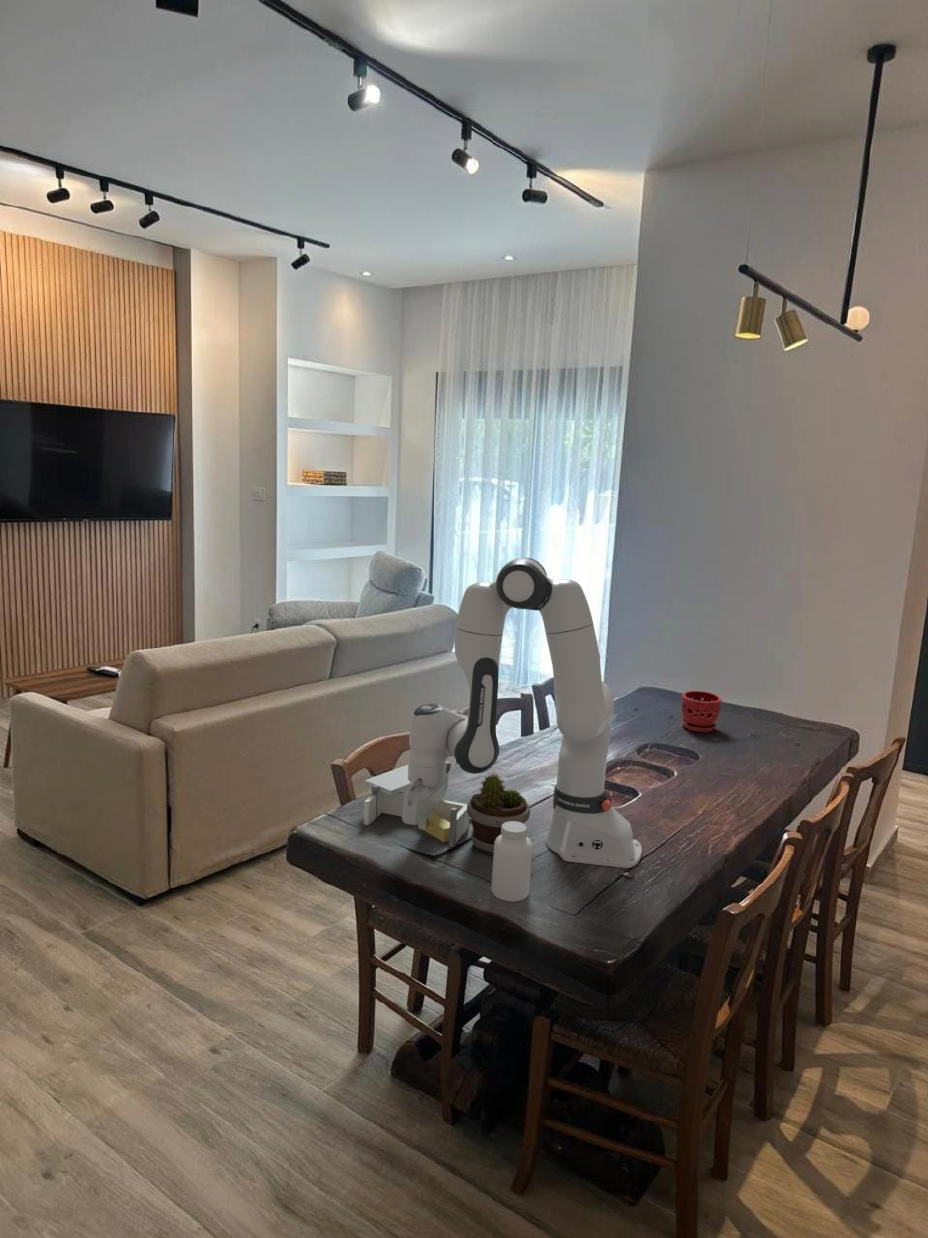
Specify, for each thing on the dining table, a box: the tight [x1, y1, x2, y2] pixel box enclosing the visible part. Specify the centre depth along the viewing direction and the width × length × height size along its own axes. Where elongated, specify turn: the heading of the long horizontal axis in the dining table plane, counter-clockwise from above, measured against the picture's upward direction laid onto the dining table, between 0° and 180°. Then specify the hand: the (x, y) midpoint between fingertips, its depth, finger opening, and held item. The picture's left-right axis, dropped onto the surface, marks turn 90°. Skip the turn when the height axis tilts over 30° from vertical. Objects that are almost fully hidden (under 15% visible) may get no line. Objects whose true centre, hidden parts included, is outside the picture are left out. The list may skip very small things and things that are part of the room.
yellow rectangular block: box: [417, 813, 450, 843], centre depth 199 cm, size 10×3×3 cm, turn 41°
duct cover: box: [364, 764, 413, 795], centre depth 213 cm, size 24×9×1 cm, turn 141°
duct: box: [363, 791, 471, 847], centre depth 201 cm, size 24×11×9 cm, turn 71°
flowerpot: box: [467, 770, 531, 856], centre depth 192 cm, size 14×15×20 cm
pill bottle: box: [490, 821, 533, 903], centre depth 172 cm, size 8×8×15 cm
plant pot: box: [681, 690, 722, 733], centre depth 289 cm, size 13×13×12 cm
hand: (424, 827), depth 197 cm, fingers closed
